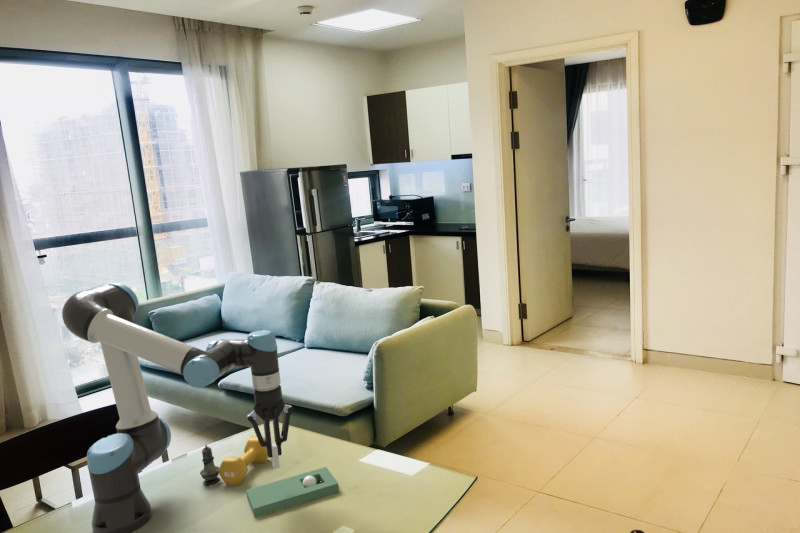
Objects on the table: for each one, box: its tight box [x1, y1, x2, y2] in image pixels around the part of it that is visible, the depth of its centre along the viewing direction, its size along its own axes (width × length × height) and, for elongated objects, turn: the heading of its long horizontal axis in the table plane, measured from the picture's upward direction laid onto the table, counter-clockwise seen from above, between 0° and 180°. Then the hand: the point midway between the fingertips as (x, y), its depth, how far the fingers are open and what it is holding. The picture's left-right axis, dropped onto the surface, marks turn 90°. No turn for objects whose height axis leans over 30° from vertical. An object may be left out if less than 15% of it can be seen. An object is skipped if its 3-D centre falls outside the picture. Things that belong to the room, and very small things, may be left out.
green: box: [245, 466, 340, 518], centre depth 176 cm, size 24×12×2 cm, turn 114°
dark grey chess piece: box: [199, 444, 221, 487], centre depth 189 cm, size 6×6×12 cm
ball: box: [303, 476, 317, 488], centre depth 178 cm, size 4×4×4 cm
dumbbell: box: [218, 435, 269, 486], centre depth 193 cm, size 19×9×8 cm, turn 162°
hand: (275, 466), depth 174 cm, fingers closed
